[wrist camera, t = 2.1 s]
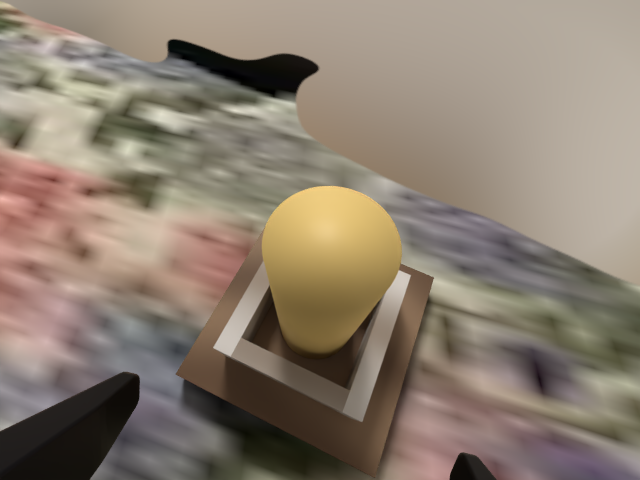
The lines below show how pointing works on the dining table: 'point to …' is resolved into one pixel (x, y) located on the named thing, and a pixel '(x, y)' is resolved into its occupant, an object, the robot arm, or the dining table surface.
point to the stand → (311, 365)
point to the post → (328, 265)
